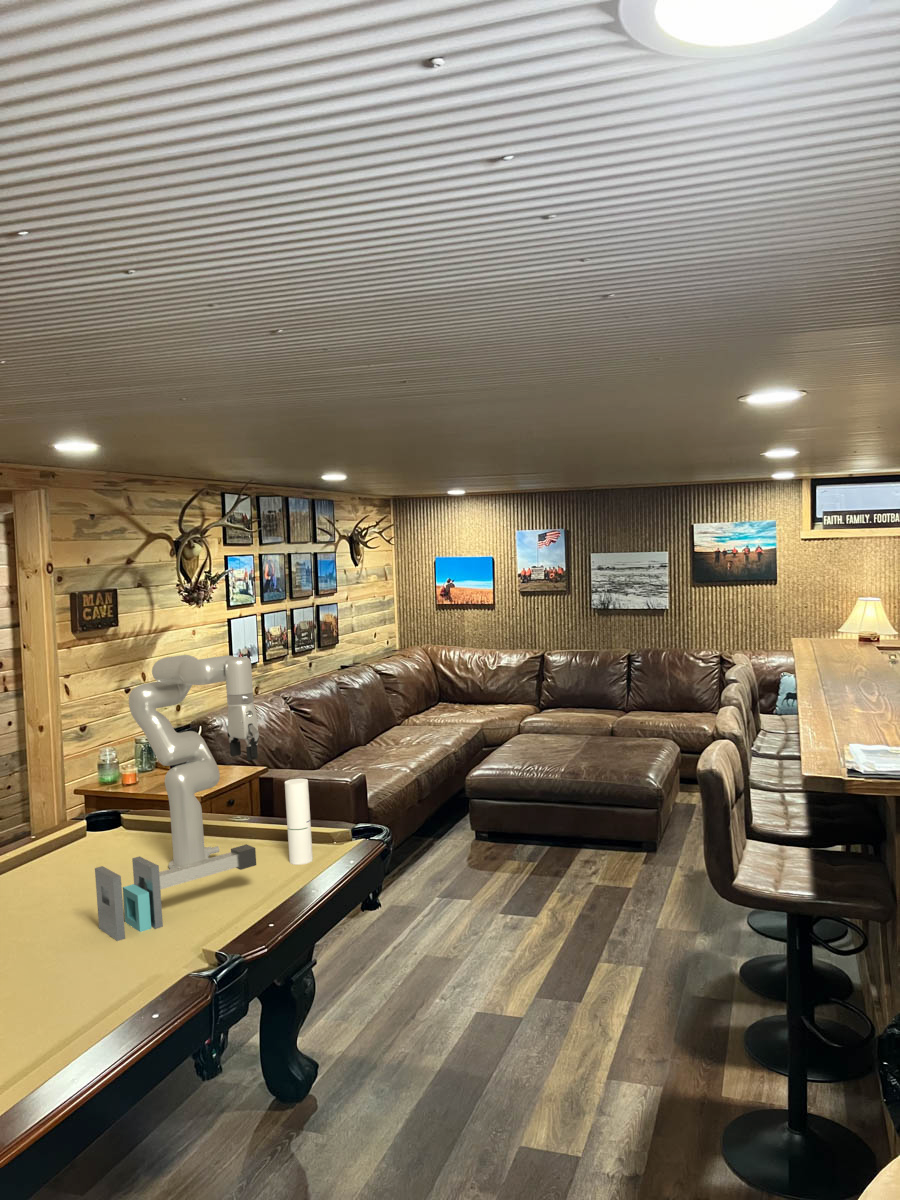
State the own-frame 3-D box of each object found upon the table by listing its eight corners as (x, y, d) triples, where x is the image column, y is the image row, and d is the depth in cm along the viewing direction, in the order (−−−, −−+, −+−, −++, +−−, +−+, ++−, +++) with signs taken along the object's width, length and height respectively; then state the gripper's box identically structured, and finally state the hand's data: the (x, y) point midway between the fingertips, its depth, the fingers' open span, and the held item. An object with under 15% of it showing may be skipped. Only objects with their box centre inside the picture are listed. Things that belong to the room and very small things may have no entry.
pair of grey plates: (143, 915, 248) (139, 856, 247) (162, 926, 239) (158, 865, 238) (99, 928, 240) (94, 868, 239) (117, 941, 231) (112, 878, 230)
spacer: (136, 919, 245) (133, 884, 245) (151, 928, 238) (148, 892, 238) (125, 922, 243) (122, 887, 243) (140, 932, 236) (137, 895, 236)
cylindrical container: (317, 858, 289) (312, 779, 288) (304, 865, 282) (299, 784, 281) (298, 856, 292) (293, 778, 291) (285, 863, 285) (279, 783, 284)
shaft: (247, 861, 265) (246, 844, 265) (256, 865, 261) (255, 847, 261) (143, 891, 244) (142, 873, 244) (151, 896, 241) (150, 877, 240)
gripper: (266, 699, 266) (270, 758, 267) (237, 695, 279) (240, 751, 279) (243, 703, 261) (247, 763, 262) (214, 699, 274) (218, 756, 274)
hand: (244, 757), depth 270 cm, fingers open, 9 cm apart
